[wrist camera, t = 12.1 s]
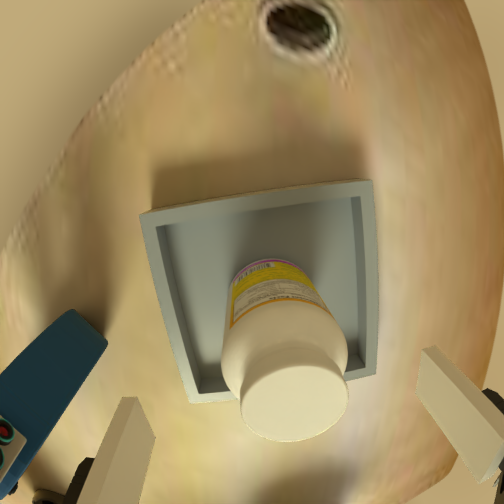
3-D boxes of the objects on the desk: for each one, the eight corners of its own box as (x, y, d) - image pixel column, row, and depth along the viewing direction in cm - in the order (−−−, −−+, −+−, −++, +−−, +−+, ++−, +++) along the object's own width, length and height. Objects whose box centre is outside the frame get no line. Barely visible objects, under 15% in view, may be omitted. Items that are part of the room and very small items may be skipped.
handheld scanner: (28, 374, 27) (-59, 491, 8) (89, 283, 25) (-62, 439, 6) (57, 400, 28) (-15, 528, 9) (127, 319, 26) (19, 508, 7)
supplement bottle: (292, 344, 26) (325, 463, 13) (215, 319, 25) (197, 439, 13) (326, 272, 24) (397, 363, 12) (245, 242, 24) (249, 321, 11)
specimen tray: (194, 383, 27) (189, 403, 25) (151, 209, 24) (139, 214, 21) (365, 356, 27) (376, 374, 24) (357, 178, 23) (372, 180, 20)
